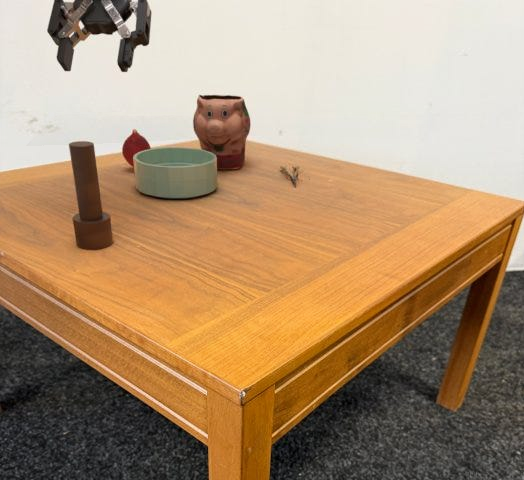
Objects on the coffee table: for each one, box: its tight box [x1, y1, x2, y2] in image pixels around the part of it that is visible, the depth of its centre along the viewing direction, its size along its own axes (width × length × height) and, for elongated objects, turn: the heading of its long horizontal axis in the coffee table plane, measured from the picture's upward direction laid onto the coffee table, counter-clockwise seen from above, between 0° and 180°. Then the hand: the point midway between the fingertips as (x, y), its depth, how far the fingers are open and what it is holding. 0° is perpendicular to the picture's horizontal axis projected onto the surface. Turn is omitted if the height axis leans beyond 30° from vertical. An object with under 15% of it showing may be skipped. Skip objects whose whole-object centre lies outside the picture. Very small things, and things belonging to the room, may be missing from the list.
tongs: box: [279, 165, 300, 188], centre depth 113 cm, size 4×13×2 cm, turn 8°
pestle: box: [68, 140, 114, 251], centre depth 77 cm, size 5×5×14 cm
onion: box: [121, 128, 152, 168], centre depth 113 cm, size 6×6×8 cm
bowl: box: [133, 146, 218, 200], centre depth 103 cm, size 15×15×6 cm
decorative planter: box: [192, 94, 251, 170], centre depth 118 cm, size 20×12×14 cm, turn 3°
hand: (93, 68), depth 77 cm, fingers open, 8 cm apart
